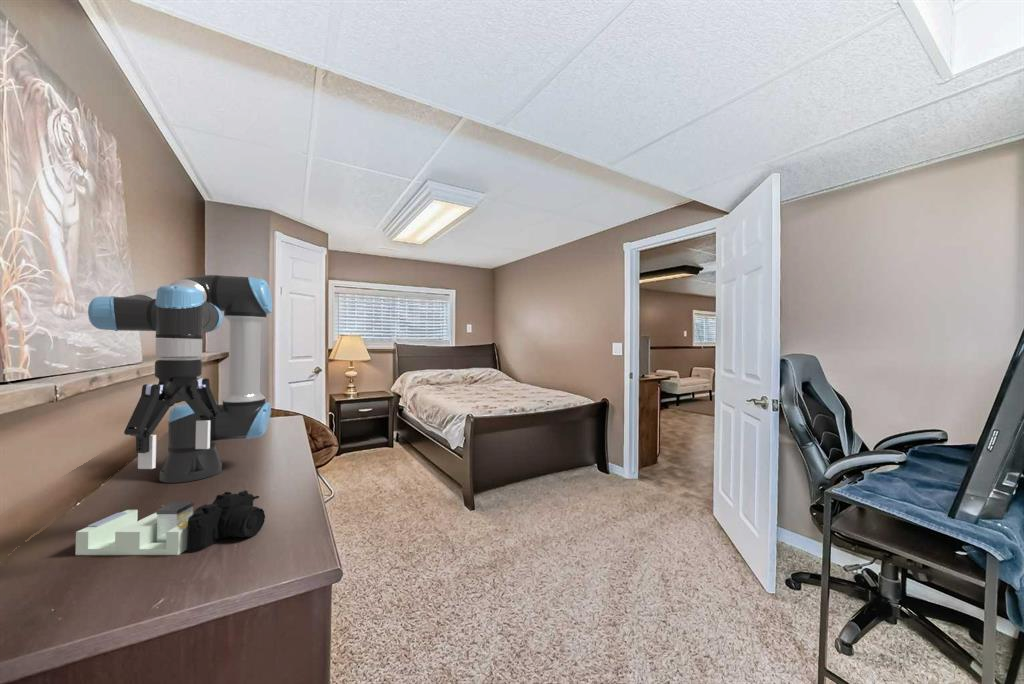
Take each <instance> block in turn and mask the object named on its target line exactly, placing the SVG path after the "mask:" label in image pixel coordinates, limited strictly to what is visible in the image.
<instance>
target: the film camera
mask: <svg viewBox="0 0 1024 684" xmlns="http://www.w3.org/2000/svg"><path fill="white" fill-rule="evenodd" d="M259 498H260V496H259V495H255V496H254V494H251V493H249V492H248V490H242V491H238V493H232V491H231V492H230V491H224V493H222V494H217V495H216V497H215V499H214V500H213V502H212V503H210V504H207V503H205V504H203V505H201V506H198V507H197V508H196V509H194V511H193V515H192V516H191V517H189V518H188V538H187V550H186V551H187V552H188V553H198V552H201V551H203V550H205V549H207V548H209V547H211V546H213V545H215V544H216V543H218V542H220V541H222V540H224V539H226V538H227V539H231V538H250V537H253V536H255V535H257V534H258V533H259V532H260V531H261V529H262V528H263V526H264V523H265V519H266V514H265V511H264V509H263V508H261V507H258V506H254V501H255V499H259Z"/></svg>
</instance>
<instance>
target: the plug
mask: <svg viewBox="0 0 1024 684" xmlns="http://www.w3.org/2000/svg"><path fill="white" fill-rule="evenodd" d="M194 505H195V502H194V501H174V502H171V503H169V504H167V505H165V506H162V507H161V508H159V509H156V511H155V513H156V514H157V543H166V532H167V531H169V530H171V529H173V528H175V527H176V526H178V525H180V524H182V523H184V522H185V521H187V520H188V518H189V517H191V516H192V515H194V511H193V510H194Z"/></svg>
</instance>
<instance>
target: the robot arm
mask: <svg viewBox="0 0 1024 684" xmlns="http://www.w3.org/2000/svg"><path fill="white" fill-rule="evenodd" d="M271 291H272V290H271V289H270V286H269V283H268V282H267V281H266V280H265V279H263V278H260V277H259V278H258V277H257V278H256V277H251V276H237V275H235V276H234V275H232V276H231V275H219V274H207V275H206V274H204V275H198V276H191V277H185V278H181V279H178V280H175V281H173V282H171V283H170V284H169V285H162V286H159V287H158V288H156V289H152V290H149V291H144V292H141V293H137V294H132V295H127V296H114V295H110V296H96V297H94V298H93V299H92V300H91V301H90V302H89V304H88V308H87V315H88V320H89V322H90V323H91V325H92V326H93V327H94V328H96V329H98V330H105V331H115V332H118V331H125V332H127V331H128V332H129V331H130V332H131V331H133V332H137V331H138V332H139V331H140V332H155V353H154V354H155V357H156V358H158V359H157V360H155V362H154V377H155V378H156V379H158V384H156V383H155V384H151V383H146V384H145V383H144V384H143V385H142V387H141V395H140V397H139V399H138V401H137V404H136V405H135V408H134V410H133V412H132V415H131V417H130V419H129V421H128V423H127V424H126V427H125V429H124V432H123V433H124V435H126V436H131V437H135V452H136V454H137V469H138V470H153V469H156V465H157V464H156V461H157V460H156V459H157V434H153V433H154V432H155V430H156V428H157V427H158V425H159V424H160V422H161V421H162V420H163V418H164V417H165V415H166V414H167V412H168V411H169V413H168V414H169V415H168V420H167V423H168V427H167V428H168V429H167V433H168V434H167V436H168V437H167V439H168V440H167V441H168V442H167V455H166V458H165V460H164V462H163V465H162V468H161V469H160V472H159V482H161V483H166V484H175V483H176V484H177V483H185V482H186V483H187V482H192V481H198V480H202V479H206V478H210V477H212V476H213V477H214V476H215V475H218V474H220V473H221V472H222V467H223V463H222V461H221V459H220V456H219V453H218V451H217V448H216V441H229V440H245V439H246V440H249V439H256V438H260V437H262V436H264V435H265V434H266V431H267V429H268V426H269V423H270V419H271V415H272V414H271V413H272V408H271V407H272V405H271V403H270V402H268V401H267V402H266V397H265V395H264V394H262V393H261V358H262V357H261V355H262V354H261V351H262V350H261V349H262V346H261V345H262V343H261V342H262V323H263V322H264V321H265V320H266V319H267V316H268V315H267V314H271V313H272V311H273V306H274V305H273V304H274V303H273V296H272V292H271ZM224 318H225V319H226V320H227V321H228V322H229V337H228V339H229V347H228V348H229V349H228V355H229V357H228V360H229V361H228V394H227V395H226V396H225V397H224V398H223V399H222V404H218V402H217V400H216V399H215V398H214V397H215V396H214V395H213V392H212V389H211V387H210V386H211V385H210V379H209V378H197V377H201V375H202V374H203V373H202V372H203V363H202V362H203V361H202V360H201V359H199V358H201V357H203V334H208V333H210V332H213V331H216V330H218V328H219V327H221V325H222V323H223V319H224ZM182 402H184V403H183V404H179V403H182ZM175 404H179V405H177V406H175ZM170 408H171V409H170ZM169 409H170V410H169Z"/></svg>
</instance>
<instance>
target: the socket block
mask: <svg viewBox="0 0 1024 684" xmlns="http://www.w3.org/2000/svg"><path fill="white" fill-rule="evenodd" d="M138 512H139V510H138V509H126V510H124V511H121V512H116V513H113V514H112V515H109V516H107V517H104V518H103V519H100V520H97V521H95V522H93V523H91V524H88V525H87V527H84V528H82V529H80V530H79V529H78V530H77V531H76V532H75V556H179V555H181V554H182V553H183V552H185V551H188V550H187V538H188V520H187V521H185V522H184V523H182V524H180V525H178V526H176V527H175V528H173V529H171V530H169V531H167V532H166V543H157V514H156V512H154V513H152V514H149V515H148V516H146V517H143V518H141V519H140V520H138V514H139V513H138Z"/></svg>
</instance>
